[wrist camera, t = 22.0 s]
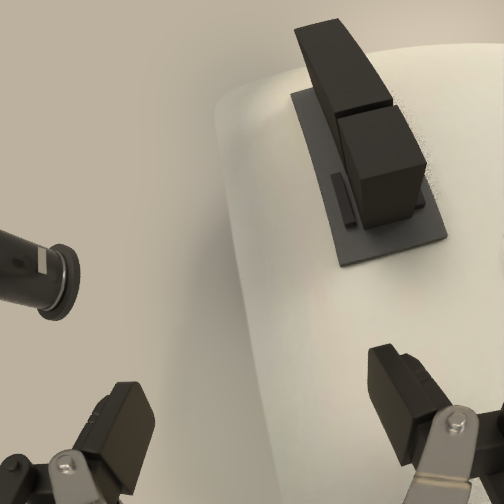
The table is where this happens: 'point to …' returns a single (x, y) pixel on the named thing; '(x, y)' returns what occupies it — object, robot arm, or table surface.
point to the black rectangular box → (382, 165)
